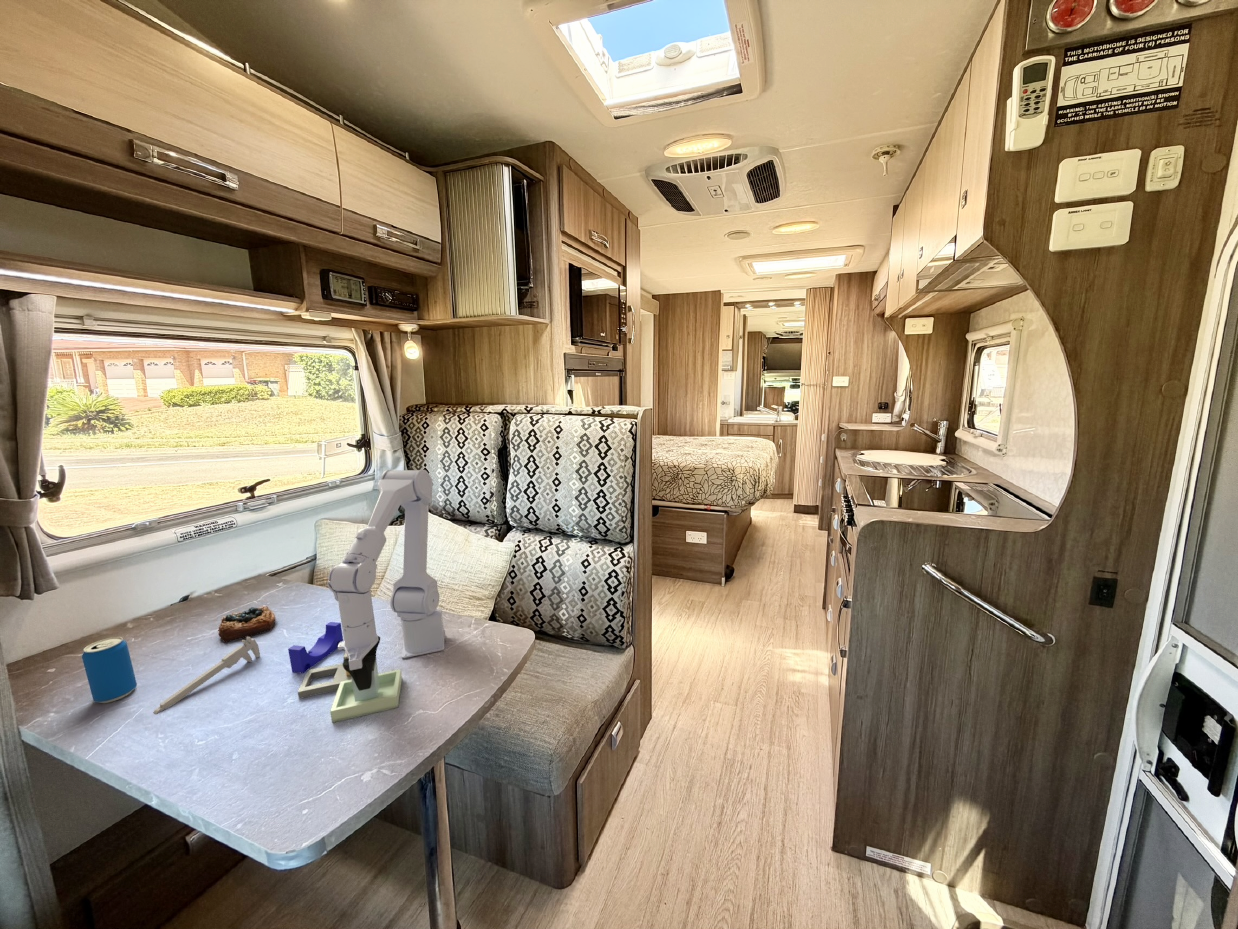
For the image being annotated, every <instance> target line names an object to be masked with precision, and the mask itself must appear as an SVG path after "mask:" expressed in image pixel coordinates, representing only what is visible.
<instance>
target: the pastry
mask: <svg viewBox="0 0 1238 929" xmlns="http://www.w3.org/2000/svg"><path fill="white" fill-rule="evenodd" d="M275 622H276V615H275V613H274V612H273V611H272V610H271V609H270V608H269V606H260V607H255V606H254V607H253V606H251V607H249V608H248V609H247V610H244V611H239V612H233V613H228V614H227V615H226V616H223V617H222V618H221V622H220V624H219V626H218V630H217V631H218V637H219V638H220V639H221V640H222V641H223V643H230V642H233V641H239V640H243V639H245V638H246V637H254V636H256V635H259V634H260V635H261V634H263V633H266V632H269V631H271V630H272V629H273V628H274V626H275Z"/></svg>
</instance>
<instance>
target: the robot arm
mask: <svg viewBox="0 0 1238 929" xmlns="http://www.w3.org/2000/svg"><path fill="white" fill-rule="evenodd" d="M377 485H378V486H377V487H378V492H379V496H378V499H377V500H376V501H377V502H376V504H375V506H374V509H373V511H372V514H371V516H370V519H369V521H368V524H367V526H366V527H364V528H361V529H358V531H357V533H356V535H355V537H354V539H353V540H352V542H351V545H350V546H349V548H348V550H347V552H346V553H345V556H344V558H343V560H342V561H341V562H339V563H338V564H336V565H335V566H334V567H333V568H332V569H331V570H330V572H329V576H328V582H327V583H326V584H327V588H328V589H329V590H330V592H331V593H333V598H334V600H336V601H337V602H338V609H339V617H340V623H341V628H342V635H343V641H342V642H340V643H339V645H338V649H337V650H339V651H341V650H344V653H345V652H346V654H347V656H348V659H344V658H343V662H342V663H343V668H344V669H345V670H346V671H347V672H348V673H349V674H350V675H351V676H352V678H353V680H354V682H355V684H356V686H357V688H358V690H359V691H361V690H365V689H370V687H371V682H372V667H373V664H374V661H375V658H376V659H377V652H378V647H379V644H380V641H381V636H379V635H378V633H377V628H376V621H375V615H374V614H375V613H374V605H373V600H372V590H371V589H372V588H373V586H374V584H375V582H376V578H377V569H378V564H377V562H378V559H379V558H380V555H381V554H382V552H383V550H384V547H385V544H386V543H387V537H386V535H385V532H386V530H387V528H388V527H389V525H390V524H391V522H392V520H393V519H394V516H395V514H397V511H398V510H399V508H400V506H401V507H402V508H403V509H404V535H403V538H404V542H403V568H402V569H403V571H402V572H403V573H402V575H401V577H399V578H398V579H397V580H395V581H394V582H393V589H392V593H391V595H390V599H389V600H390V601H389V605H390V609H391V611H392V612H393V613H396V616H397V618H399V619H400V623H401V624H400V625H401V630H402V631H401V632H402V638H403V639H402V640H403V646H402V651H401V659H408V658H412V657H416V656H421V655H426V654H431V653H436V652H442V651H444V650H445V638H446V630H445V628H444V620H443V611H442V608H438V606H439V604H440V592H439V589H438V588H439V586H438V580H436V579H435V578H434V577H432V576H431V575H430V574H429V573H427V570H428V566H427V565H428V535H429V532H428V531H429V505H431V504H432V501H433V500H432V499H433V478H432V476H431V475H430V473H429V472H428V471H427V470H426V469H419V470H417V469H415V470H413V469H411V470H410V469H409V470H408V469H406V470H405V469H402V470H401V469H400V470H399V469H398V470H397V469H395V470H394V469H386V470H385V471H383V473H382V475H381V476H380V479H379V481H378V483H377Z"/></svg>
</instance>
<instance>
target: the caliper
mask: <svg viewBox="0 0 1238 929" xmlns="http://www.w3.org/2000/svg"><path fill="white" fill-rule="evenodd" d="M241 642H242V644H243V645H242V644H241V645H239V646H238V647H236V648H235V649H234V650H233V651H231V652H229V653H228V654H226V655H225V656H223V657H222V658H221V661H219V662H218V663H217V664H215V665H214V666H213V667H211V668H209V669H208V670H206V671H205V672H203V673H202V674H200V675H199V676H198V677H196V678H195V679H193V680H192V681H190V683H188V684H186V685H185V686H184V687H182V688H181V689H179V690H178V691H176V692H175V693H173V694H172V695H171V696H169V697H167V698H166V699H165V700H164V701H162V702H161V703H159V706H158V707H157V708H156V709H154V711H153V712H152V713H154V714H155V715H156V714H159V713H161V712H162V711H163V710H166V709H168V708H170V707H171V706H174V705H175V704H177V703H179V701H181V700H182V699H184V698H185V697H186V696H188V695H190V694H191V693H192V692H193V691H195V690H196V689H197V688H199V687H200V686H201V685H203V684H205V683H206V682H208V681H209V680H211V678H213V677H214V676H216V675H218V674H219V673H220V672H221V671H222V670H224V669H226V668H227V669H230V668H232V667H233V666H234V665H236V664H237V663H238V662H239V661H240V660H241V659H243V660H245V661H246V662H249V663H252V662H253V659H252V656H251V655H250V653H249V651H251V652H252V654H253V655H254V657H255V658H260V656H261V653H260V647H259V645H258V643H257V641H256V640H255V638H251V636H249V637H246V639H245V640H244V639H241Z"/></svg>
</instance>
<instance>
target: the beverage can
mask: <svg viewBox="0 0 1238 929" xmlns="http://www.w3.org/2000/svg"><path fill="white" fill-rule="evenodd" d="M81 659H82V662H83V667H84V670H85V674H86V678H87V682H88V685H89V689H90V693H91V696H92V700H93V702H95V703H101V704H109V703H112V702H115V701H118V700H121V699H123V698H125V697H127V696H129V695H130V694H131V693H133V690H135V688H137V686H138V683H137V680H136V674H135V671H134V667H133V663H132V658H131V655H130V650H129V646H128V643H127V641H125V640H124V638H123V637H121V636H113V637H107V638H105V639H104V638H103V639H101V640H97V641H95V642H92V643H90V644H88V645H87V646H86V647H84V648H83V653H82V655H81Z"/></svg>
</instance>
